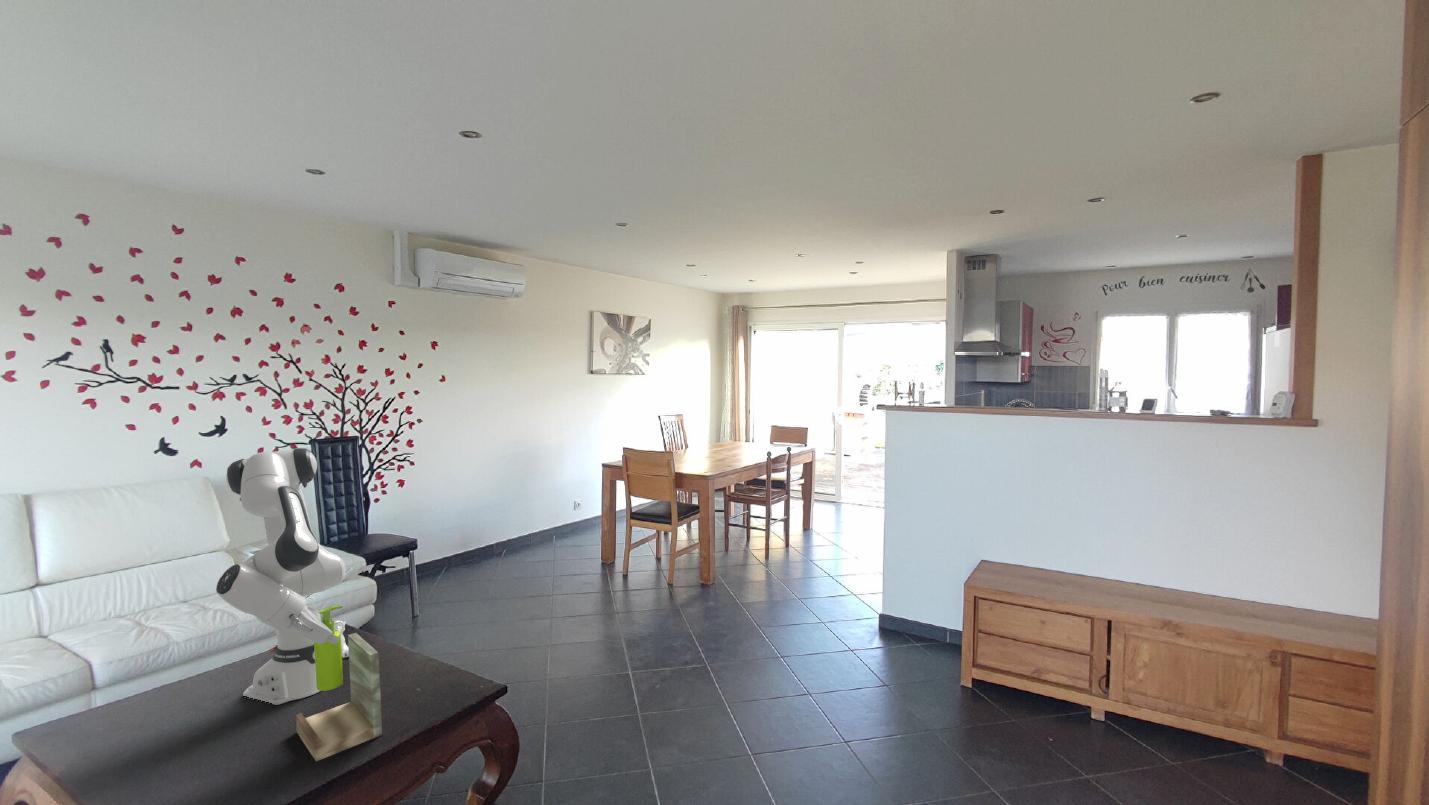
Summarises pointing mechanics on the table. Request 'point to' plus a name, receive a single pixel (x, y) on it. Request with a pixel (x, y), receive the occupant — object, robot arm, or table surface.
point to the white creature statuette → (342, 637)
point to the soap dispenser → (328, 657)
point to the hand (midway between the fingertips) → (332, 636)
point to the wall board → (348, 708)
